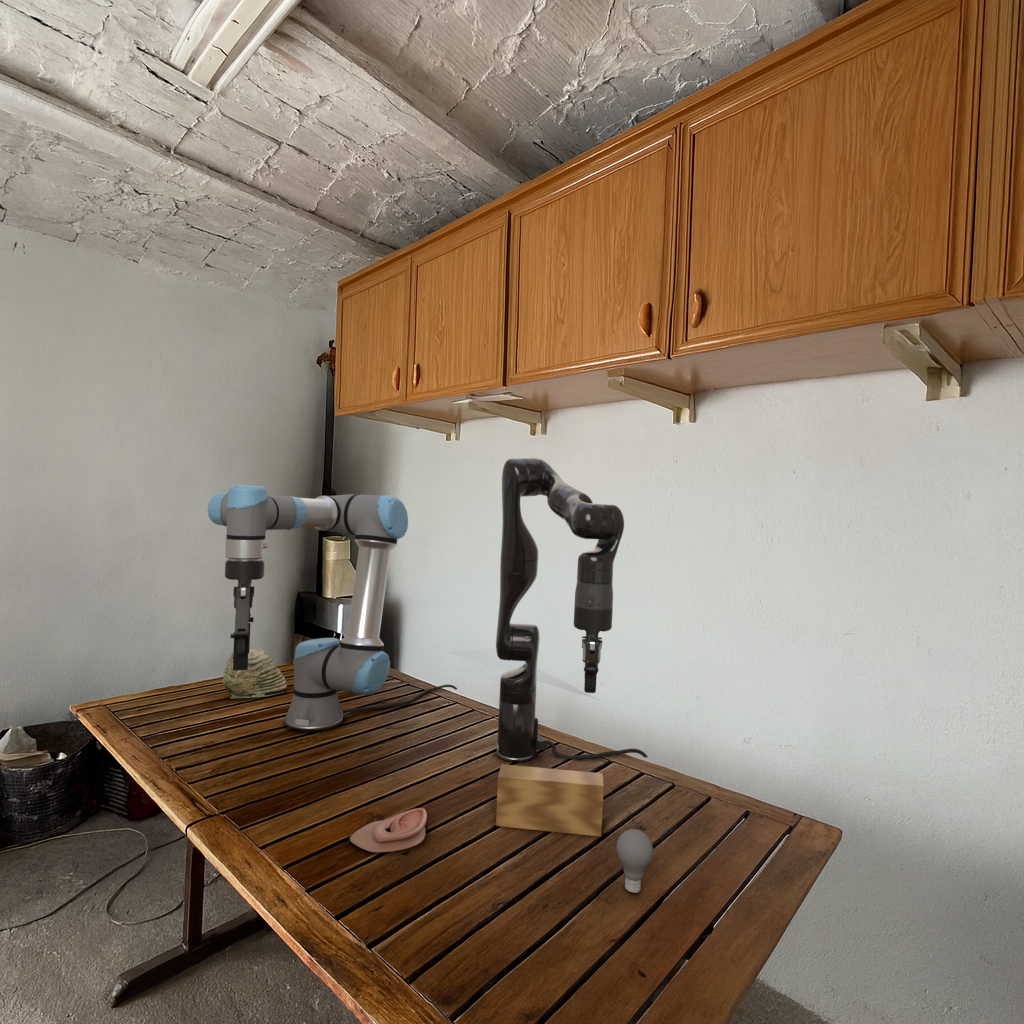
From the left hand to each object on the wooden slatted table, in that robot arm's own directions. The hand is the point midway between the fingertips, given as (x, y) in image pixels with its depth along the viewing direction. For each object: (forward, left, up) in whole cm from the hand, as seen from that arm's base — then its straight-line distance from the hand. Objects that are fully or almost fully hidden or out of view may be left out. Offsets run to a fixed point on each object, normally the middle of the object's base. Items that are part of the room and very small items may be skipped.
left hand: (241, 661), depth 132 cm
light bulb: (-28, +78, -28) cm, 87 cm away
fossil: (-37, -59, -28) cm, 75 cm away
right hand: (-40, +60, 0) cm, 72 cm away
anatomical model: (-11, +35, -28) cm, 47 cm away
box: (-36, +54, -28) cm, 71 cm away
